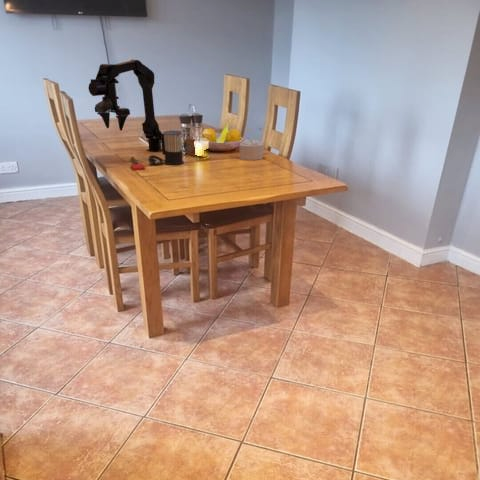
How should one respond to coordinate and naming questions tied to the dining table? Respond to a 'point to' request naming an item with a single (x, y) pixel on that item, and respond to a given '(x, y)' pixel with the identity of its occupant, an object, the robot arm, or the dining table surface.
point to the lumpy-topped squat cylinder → (251, 150)
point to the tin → (190, 147)
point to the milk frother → (170, 148)
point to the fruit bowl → (223, 139)
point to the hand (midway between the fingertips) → (114, 129)
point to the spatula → (137, 165)
